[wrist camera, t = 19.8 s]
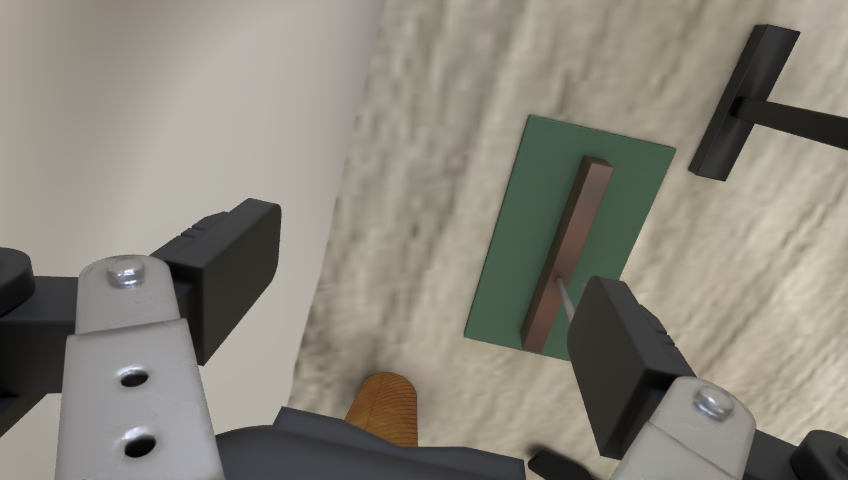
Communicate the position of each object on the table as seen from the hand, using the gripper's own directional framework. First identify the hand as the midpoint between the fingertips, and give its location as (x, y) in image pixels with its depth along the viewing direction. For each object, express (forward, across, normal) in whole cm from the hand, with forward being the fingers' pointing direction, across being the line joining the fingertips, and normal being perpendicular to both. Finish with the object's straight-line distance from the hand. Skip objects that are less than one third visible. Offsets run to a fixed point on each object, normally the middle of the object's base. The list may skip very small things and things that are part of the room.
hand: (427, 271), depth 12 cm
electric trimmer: (+28, -24, +37) cm, 52 cm away
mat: (+28, -12, +10) cm, 32 cm away
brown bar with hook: (+27, -12, +10) cm, 31 cm away
